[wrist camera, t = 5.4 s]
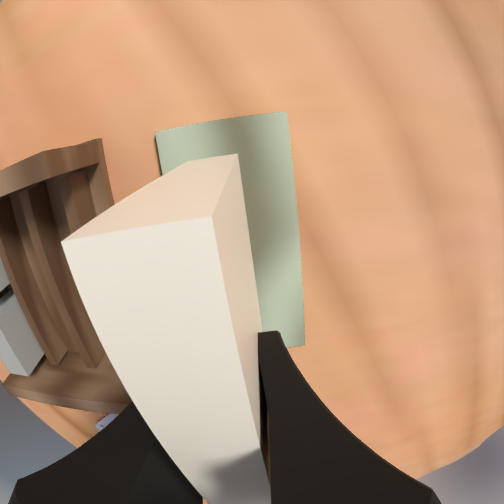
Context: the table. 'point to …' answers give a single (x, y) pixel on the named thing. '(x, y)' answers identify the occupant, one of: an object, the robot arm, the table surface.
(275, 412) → the robot arm
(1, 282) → the offcut
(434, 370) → the table surface
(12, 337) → the offcut
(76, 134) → the table surface
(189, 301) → the cream rectangular slab
